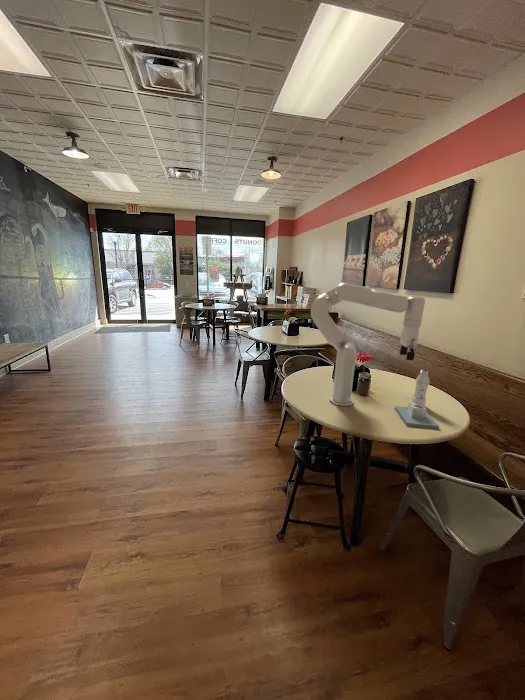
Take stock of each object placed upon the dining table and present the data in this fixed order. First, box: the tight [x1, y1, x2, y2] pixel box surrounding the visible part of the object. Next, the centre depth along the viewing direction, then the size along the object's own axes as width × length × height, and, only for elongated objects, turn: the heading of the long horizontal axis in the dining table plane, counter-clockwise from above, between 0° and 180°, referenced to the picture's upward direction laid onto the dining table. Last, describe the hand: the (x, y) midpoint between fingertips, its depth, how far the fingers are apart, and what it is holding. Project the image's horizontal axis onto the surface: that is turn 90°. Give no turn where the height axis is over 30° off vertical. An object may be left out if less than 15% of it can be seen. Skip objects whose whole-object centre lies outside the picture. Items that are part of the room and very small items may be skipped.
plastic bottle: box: [411, 368, 431, 407], centre depth 154 cm, size 6×7×20 cm
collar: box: [407, 402, 427, 419], centre depth 141 cm, size 6×6×5 cm
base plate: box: [394, 405, 440, 430], centre depth 141 cm, size 18×14×6 cm
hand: (406, 357), depth 143 cm, fingers open, 9 cm apart
